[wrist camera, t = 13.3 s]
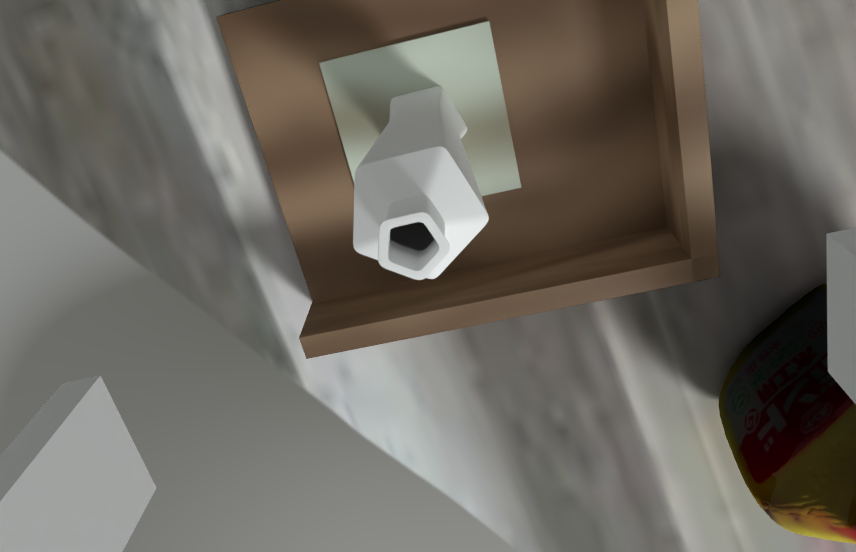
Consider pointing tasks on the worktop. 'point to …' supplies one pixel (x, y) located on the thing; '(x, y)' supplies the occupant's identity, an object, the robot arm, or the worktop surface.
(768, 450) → the bottle
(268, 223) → the worktop surface
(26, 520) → the robot arm
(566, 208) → the brown wooden flat tray
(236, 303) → the worktop surface
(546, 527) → the worktop surface
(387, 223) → the white faceted vase
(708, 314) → the worktop surface
